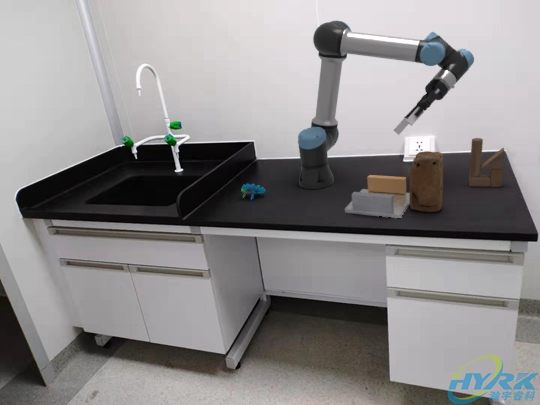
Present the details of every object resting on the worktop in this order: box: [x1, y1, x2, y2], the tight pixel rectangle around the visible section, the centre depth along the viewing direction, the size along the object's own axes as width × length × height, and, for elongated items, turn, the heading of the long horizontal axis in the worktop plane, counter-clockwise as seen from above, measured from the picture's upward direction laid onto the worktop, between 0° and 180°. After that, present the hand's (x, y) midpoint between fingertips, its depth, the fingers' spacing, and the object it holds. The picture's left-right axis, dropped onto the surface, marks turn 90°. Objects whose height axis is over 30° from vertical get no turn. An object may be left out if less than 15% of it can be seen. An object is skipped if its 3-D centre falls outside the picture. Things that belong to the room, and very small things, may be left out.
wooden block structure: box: [468, 137, 505, 188], centre depth 152 cm, size 4×11×18 cm, turn 67°
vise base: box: [344, 188, 410, 219], centre depth 152 cm, size 20×19×8 cm
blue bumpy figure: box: [240, 183, 266, 201], centre depth 175 cm, size 11×6×10 cm
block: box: [408, 150, 444, 213], centre depth 141 cm, size 11×8×20 cm
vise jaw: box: [366, 174, 407, 194], centre depth 158 cm, size 14×2×6 cm, turn 59°
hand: (402, 127), depth 151 cm, fingers open, 13 cm apart
